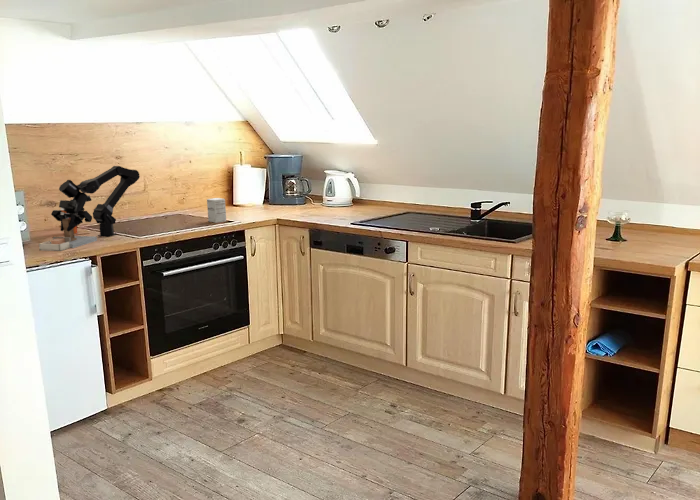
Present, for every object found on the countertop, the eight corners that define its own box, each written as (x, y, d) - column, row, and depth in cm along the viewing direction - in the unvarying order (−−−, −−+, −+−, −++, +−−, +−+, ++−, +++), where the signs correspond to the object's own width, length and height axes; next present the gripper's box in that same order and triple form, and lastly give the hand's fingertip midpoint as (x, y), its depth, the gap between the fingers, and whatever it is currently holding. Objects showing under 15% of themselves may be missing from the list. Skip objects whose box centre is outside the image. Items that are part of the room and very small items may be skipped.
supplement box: (207, 221, 342) (206, 199, 340) (219, 219, 348) (217, 197, 345) (215, 223, 337) (214, 200, 335) (226, 221, 343) (225, 198, 340)
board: (72, 239, 301) (71, 235, 300) (97, 240, 297) (96, 236, 296) (47, 247, 285) (46, 242, 284) (72, 248, 281) (72, 243, 280)
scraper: (64, 239, 292) (61, 218, 289) (80, 239, 289) (77, 218, 287) (53, 242, 285) (50, 221, 283) (69, 243, 282) (66, 221, 280)
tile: (57, 242, 284) (57, 238, 284) (65, 242, 283) (64, 238, 283) (51, 244, 280) (50, 240, 280) (59, 245, 279) (58, 240, 279)
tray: (49, 247, 284) (49, 240, 284) (70, 248, 281) (69, 241, 281) (39, 250, 278) (38, 243, 277) (60, 251, 275) (59, 244, 275)
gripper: (51, 193, 289) (36, 220, 281) (85, 193, 284) (71, 221, 276) (65, 207, 298) (51, 234, 290) (98, 207, 293) (85, 235, 285)
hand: (64, 230), depth 285 cm, fingers closed on scraper, 3 cm apart
